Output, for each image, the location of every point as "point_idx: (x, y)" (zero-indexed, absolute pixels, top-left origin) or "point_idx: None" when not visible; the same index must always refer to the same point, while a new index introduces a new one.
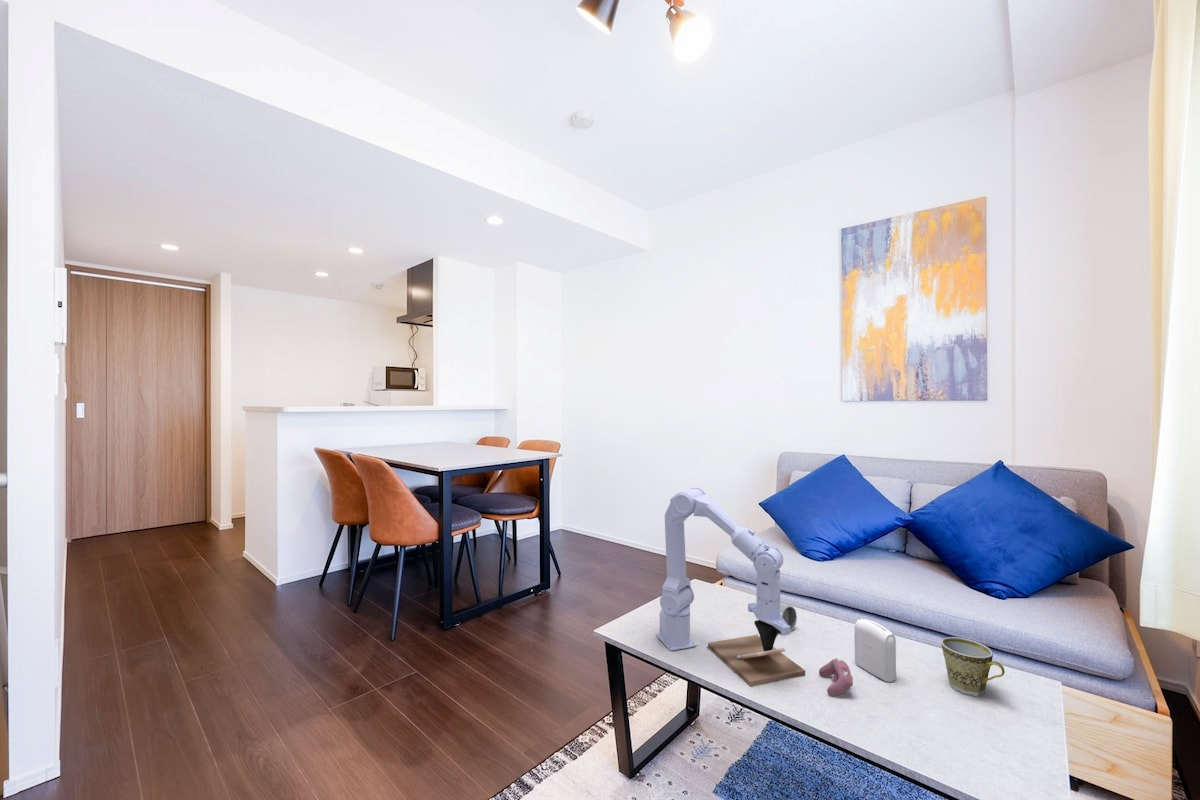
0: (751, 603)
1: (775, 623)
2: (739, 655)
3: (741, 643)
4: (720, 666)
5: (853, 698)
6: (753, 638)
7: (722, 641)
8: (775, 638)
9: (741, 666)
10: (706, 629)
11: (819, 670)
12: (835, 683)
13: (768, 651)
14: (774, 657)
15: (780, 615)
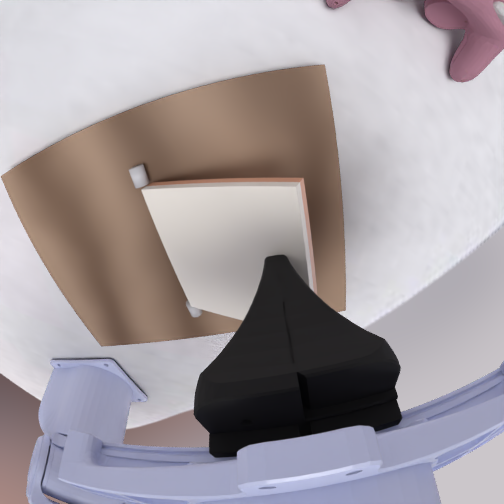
0: (81, 488)
1: (464, 455)
2: (192, 310)
3: (74, 257)
4: (215, 339)
5: None
6: (28, 198)
7: (78, 310)
8: (318, 297)
9: None
10: (10, 304)
11: (339, 4)
12: (488, 62)
13: (311, 287)
14: (181, 159)
15: (398, 469)
